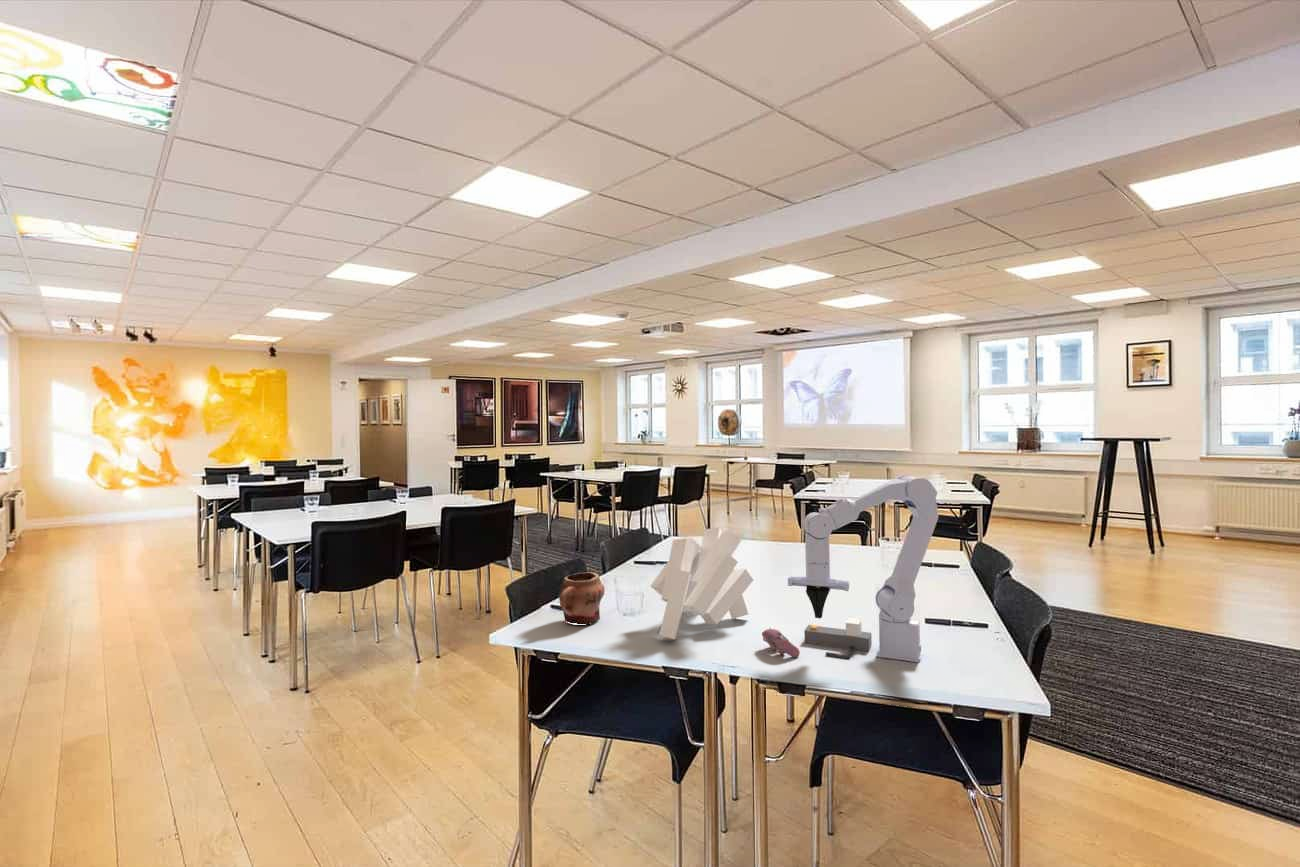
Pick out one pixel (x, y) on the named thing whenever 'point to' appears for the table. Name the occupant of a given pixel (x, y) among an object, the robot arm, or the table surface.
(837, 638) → the power strip
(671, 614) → the pile of blocks
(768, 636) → the video game controller
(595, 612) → the decorative planter
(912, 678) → the table surface
